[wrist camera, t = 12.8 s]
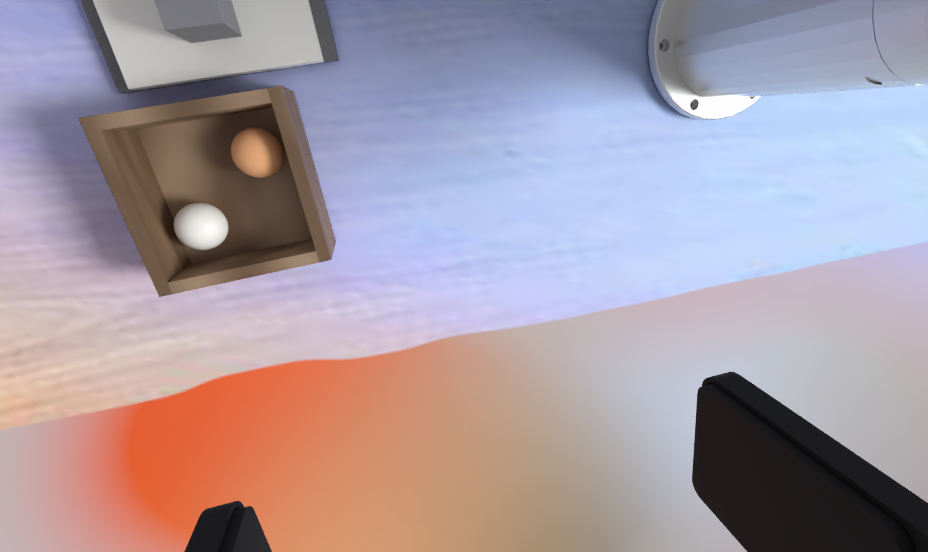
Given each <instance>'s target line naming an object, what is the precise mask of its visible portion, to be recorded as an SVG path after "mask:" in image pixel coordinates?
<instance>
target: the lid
mask: <svg viewBox="0 0 928 552" xmlns="http://www.w3.org/2000/svg"><path fill="white" fill-rule="evenodd" d="M93 2H94V5H95V7H96V10H97V12H98V15H99V17H100V20H101V22H102V25H103V27H104V30H105V32H106V35H107V37H108V40H109V42H110V45H111V47H112V50H113V52H114V55H115V57H116V59H117V62H118V64H119V67H120V69H121V72H122V74H123V77H124V79H125V82H126V84H127V87H128V89H131V90H142V89H148V88H155V87H162V86H169V85H175V84H182V83H189V82H195V81H202V80H209V79H215V78H222V77H229V76H236V75H242V74H249V73H256V72H262V71H269V70H276V69H282V68H289V67H296V66H302V65H309V64H316V63H323V62H324V60H323V56H322V52H321V48H320V44H319V40H318V36H317V32H316V28H315V24H314V20H313V16H312V12H311V8H310V4H309V0H93Z"/></svg>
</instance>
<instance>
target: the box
mask: <svg viewBox="0 0 928 552" xmlns="http://www.w3.org/2000/svg"><path fill="white" fill-rule="evenodd" d="M79 121H80V123H81V125H82V127H83V129H84V132H85V134H86V136H87V138H88V140H89V143H90V145H91V147H92V149H93V151H94V154H95V156H96V158H97V160H98V162H99V165H100V167H101V169H102V171H103V173H104V176H105V178H106V180H107V182H108V184H109V187H110V189H111V191H112V193H113V195H114V198H115V200H116V202H117V204H118V207H119V209H120V211H121V213H122V215H123V218H124V220H125V222H126V224H127V226H128V229H129V231H130V233H131V235H132V237H133V240H134V242H135V244H136V246H137V248H138V251H139V253H140V255H141V257H142V259H143V262H144V264H145V266H146V268H147V270H148V273H149V275H150V277H151V279H152V281H153V284H154V286H155V288H156V290H157V292H158V295H159V297H161V296H166V295H170V294H175V293H180V292H184V291H189V290H193V289H198V288H203V287H207V286H212V285H217V284H221V283H226V282H230V281H235V280H240V279H244V278H249V277H254V276H258V275H263V274H267V273H272V272H277V271H281V270H286V269H291V268H295V267H300V266H304V265H309V264H314V263H318V262H323V261H328V260H331V258H332V254H333V250H334V246H335V242H336V241H335V237H334V233H333V230H332V226H331V223H330V219H329V216H328V212H327V209H326V205H325V201H324V198H323V194H322V191H321V187H320V184H319V180H318V176H317V173H316V169H315V166H314V162H313V159H312V155H311V151H310V148H309V144H308V141H307V137H306V134H305V130H304V126H303V123H302V119H301V116H300V112H299V109H298V105H297V101H296V98H295V94H294V92H293V91H291V90H289V89H287V88H284V87H282V86H278V87H271V88H265V89H259V90H252V91H246V92H240V93H233V94H227V95H221V96H214V97H208V98H202V99H196V100H189V101H183V102H177V103H170V104H164V105H158V106H151V107H145V108H139V109H132V110H126V111H120V112H113V113H107V114H101V115H94V116H88V117H82V118H79ZM248 128H261V129H265V130H267V131H269V132H271V133H272V134H273V135H275V136H276V137H277V138H278V140H279V141H280V143H281V145H282V147H283V150H284V161H283V164H282V166H281V168H280V169H279V170H278V171H277V172H276V173H275V174H273V175H271V176H268V177H263V178H258V177H253V176H250V175H247V174H245V173H244V172H242V171H241V170H240V169H239V168H238V167H237V166H236V164H235V163H234V161H233V158H232V155H231V145H232V142H233V139H234V138H235V136H236V135H237V134H238V133H239V132H241V131H243V130H245V129H248ZM192 203H207V204H210V205H213V206H215V207H216V208H218V209H219V210H220V211H221V212H222V213H223V214H224V215H225V217H226V219H227V222H228V234H227V236H226V238H225V240H224V241H223V242H222V243H221V244H220V245H218V246H216V247H214V248H212V249H207V250H198V249H193V248H191V247H188V246H187V245H185V244H184V243H182V242H181V241H180V240H179V239H178V237H177V235H176V233H175V231H174V219H175V217H176V215H177V213H178V212H179V211H180V210H181V209H182V208H183V207H185V206H187V205H189V204H192Z"/></svg>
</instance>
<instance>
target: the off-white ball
mask: <svg viewBox="0 0 928 552" xmlns="http://www.w3.org/2000/svg"><path fill="white" fill-rule="evenodd" d="M174 231H175V233H176V235H177V237H178V239H179V240H180V241H181V242H182V243H184V244H185V245H187V246H188V247H191V248H193V249H198V250H207V249H212V248H214V247H216V246H218V245H220V244H221V243H222V242H223V241H224V240H225V238H226V236H227V234H228V222H227V219H226V217H225V215H224V214H223V213H222V212H221V211H220V210H219V209H218V208H216V207H215V206H213V205H210V204H207V203H192V204H189V205H187V206H185V207H183V208H182V209H181V210H180V211H179V212H178V213H177V215H176V217H175V219H174Z"/></svg>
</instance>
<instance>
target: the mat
mask: <svg viewBox="0 0 928 552" xmlns="http://www.w3.org/2000/svg"><path fill="white" fill-rule="evenodd" d="M81 2H82V4H83V7H84V9H85V12H86V14H87V17H88V19H89V21H90V24H91V26H92V29H93V31H94V33H95V36H96V38H97V41H98V43H99V46H100V48H101V50H102V53H103V55H104V58H105V60H106V62H107V65H108V67H109V70H110V72H111V75H112V77H113V79H114V82H115V84H116V87H117V89H118V91H119V93H122V94H123V93H129V92H136V91H142V90H149V89H155V88H162V87H168V86H162V87H155V88H148V89H142V90H131V89H128V87H127V84H126V82H125V79H124V77H123V74H122V72H121V69H120V67H119V64H118V62H117V59H116V57H115V55H114V52H113V50H112V47H111V45H110V42H109V40H108V37H107V35H106V32H105V30H104V27H103V25H102V22H101V20H100V17H99V15H98V12H97V10H96V7H95V5H94V2H93V0H81ZM309 4H310V8H311V12H312V16H313V20H314V24H315V28H316V32H317V36H318V40H319V44H320V48H321V52H322V56H323V60H324V62H323V63H325V62H332V61H338V56H337V52H336V48H335V43H334V39H333V35H332V31H331V27H330V23H329V18H328V14H327V10H326V6H325V2H324V0H309ZM316 64H319V63H316ZM309 65H312V64H309ZM302 66H306V65H302ZM296 67H299V66H296ZM289 68H292V67H289ZM282 69H286V68H282ZM276 70H279V69H276ZM269 71H273V70H269ZM262 72H266V71H262ZM256 73H260V72H256ZM249 74H253V73H249ZM242 75H247V74H242ZM236 76H240V75H236ZM229 77H234V76H229ZM222 78H227V77H222ZM215 79H221V78H215ZM209 80H214V79H209ZM202 81H208V80H202ZM195 82H201V81H195ZM189 83H194V82H189ZM182 84H188V83H182ZM175 85H181V84H175ZM175 85H169V86H175Z"/></svg>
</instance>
